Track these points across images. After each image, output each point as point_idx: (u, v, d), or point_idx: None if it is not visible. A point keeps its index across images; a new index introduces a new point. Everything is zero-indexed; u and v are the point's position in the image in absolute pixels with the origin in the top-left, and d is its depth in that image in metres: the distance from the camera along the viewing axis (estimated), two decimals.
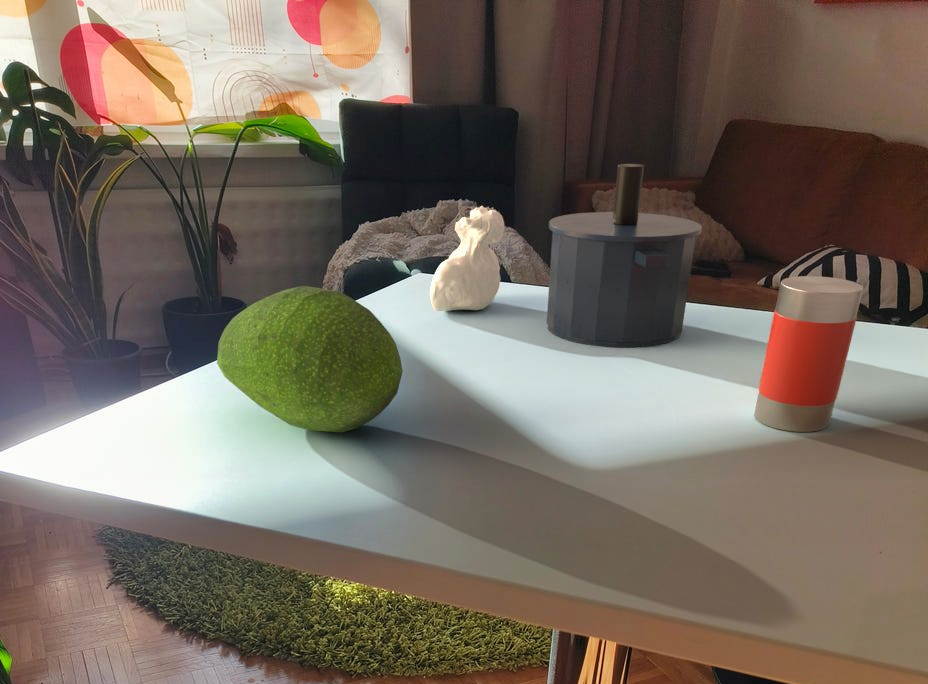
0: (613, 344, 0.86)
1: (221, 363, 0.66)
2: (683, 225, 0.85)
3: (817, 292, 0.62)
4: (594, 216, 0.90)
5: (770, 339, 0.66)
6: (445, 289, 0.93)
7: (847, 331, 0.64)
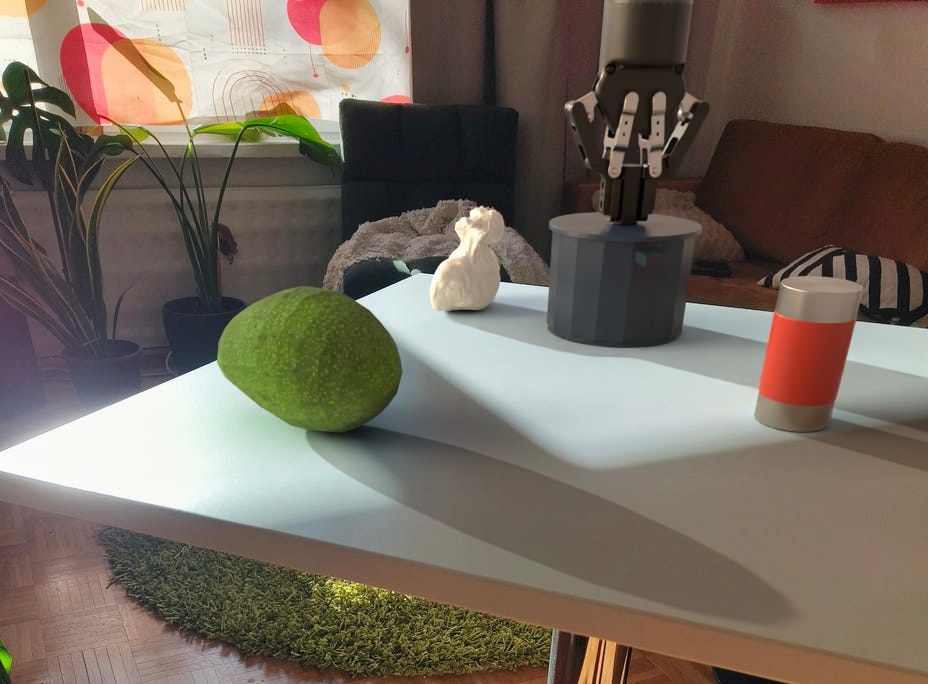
0: (613, 344, 0.86)
1: (221, 363, 0.66)
2: (683, 225, 0.85)
3: (817, 292, 0.62)
4: (594, 216, 0.90)
5: (770, 339, 0.66)
6: (445, 289, 0.93)
7: (847, 331, 0.64)
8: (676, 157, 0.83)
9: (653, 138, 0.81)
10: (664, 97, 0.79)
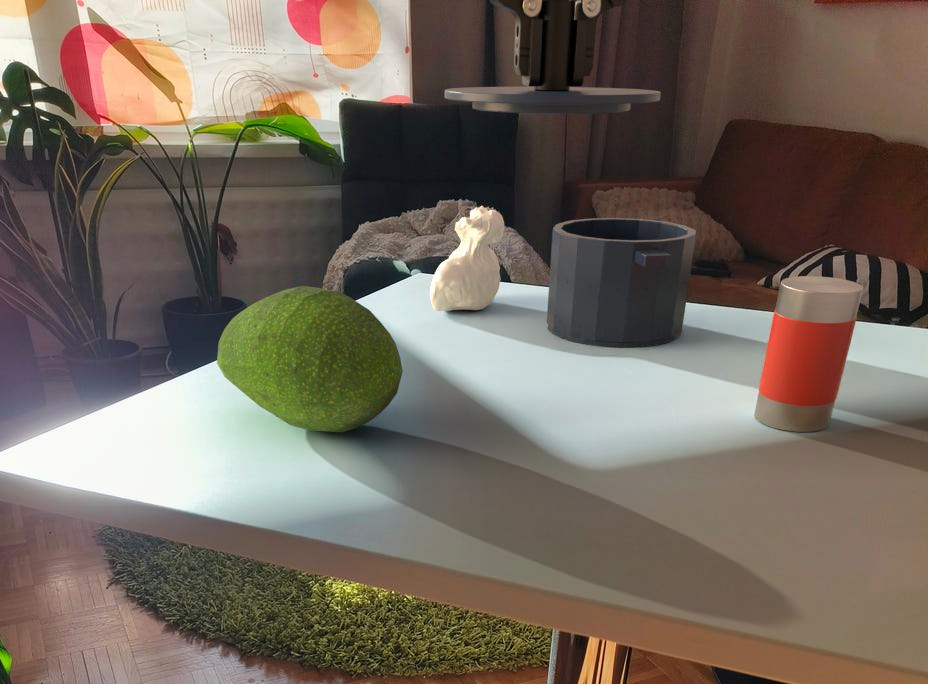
0: (613, 344, 0.86)
1: (221, 363, 0.66)
2: (634, 91, 0.60)
3: (817, 292, 0.62)
4: None
5: (770, 339, 0.66)
6: (445, 289, 0.93)
7: (847, 331, 0.64)
8: None
9: None
10: None
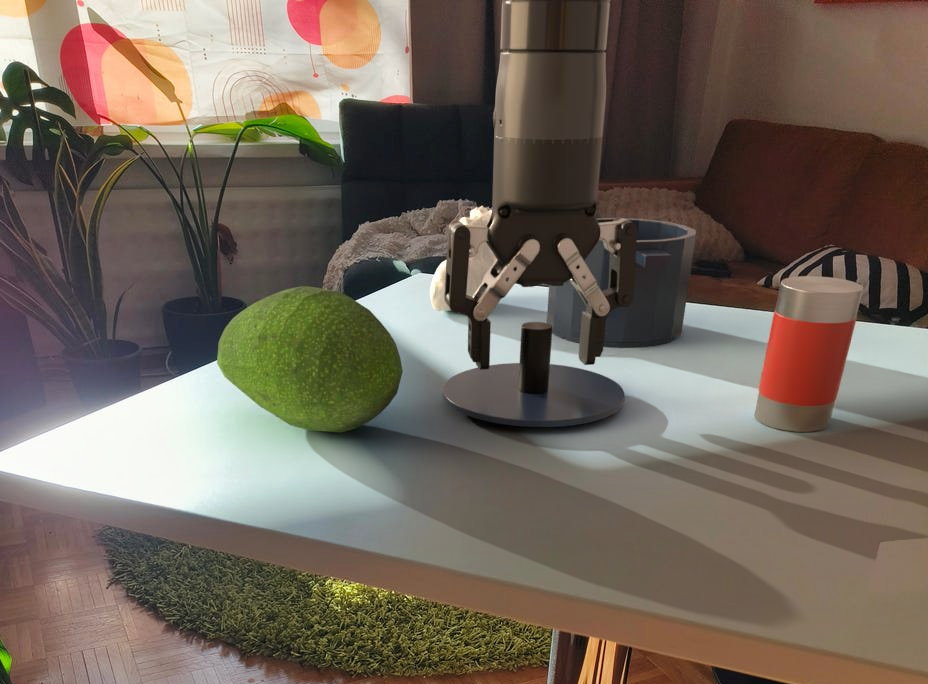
0: (613, 344, 0.86)
1: (221, 363, 0.66)
2: (602, 393, 0.71)
3: (817, 292, 0.62)
4: (501, 373, 0.75)
5: (770, 339, 0.66)
6: None
7: (847, 331, 0.64)
8: (625, 293, 0.68)
9: (581, 284, 0.66)
10: (570, 241, 0.64)
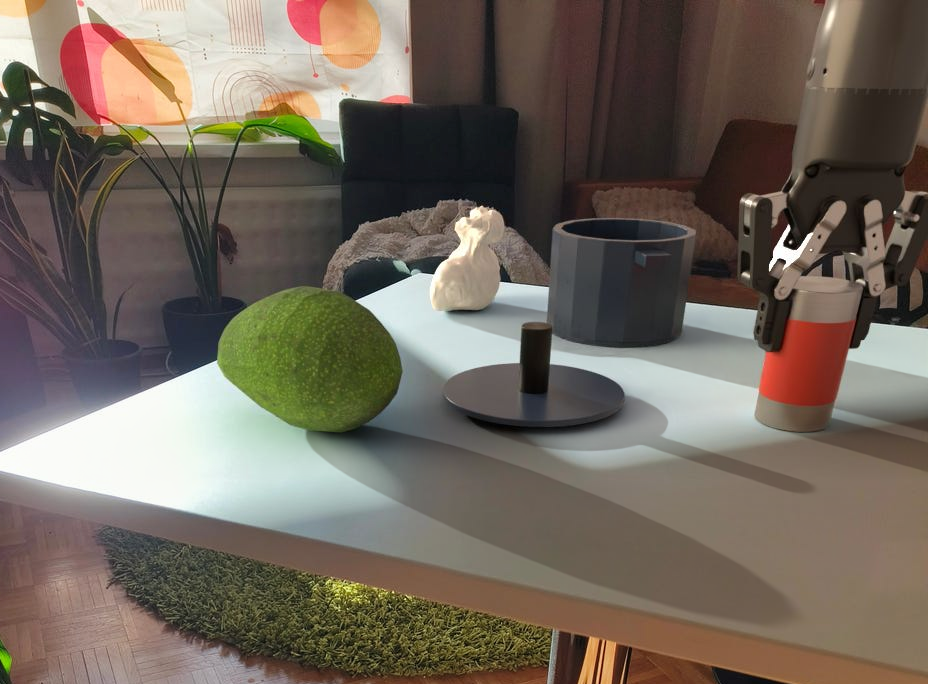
0: (613, 344, 0.86)
1: (221, 363, 0.66)
2: (602, 393, 0.71)
3: (817, 292, 0.62)
4: (501, 373, 0.75)
5: None
6: (445, 289, 0.93)
7: (847, 331, 0.64)
8: (904, 271, 0.63)
9: (870, 255, 0.62)
10: (879, 204, 0.59)
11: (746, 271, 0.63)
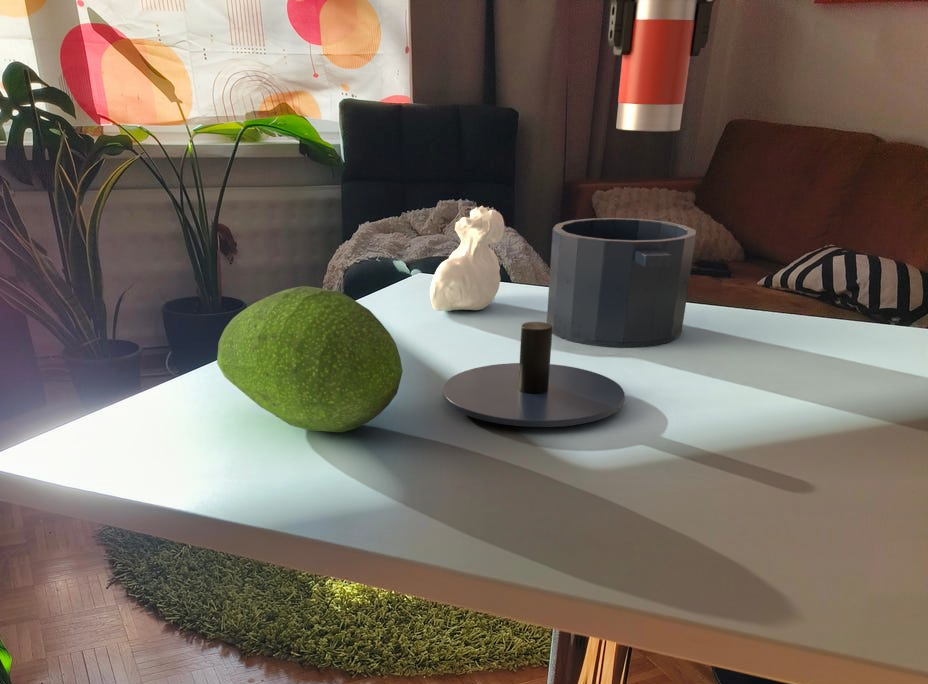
0: (613, 344, 0.86)
1: (221, 363, 0.66)
2: (602, 393, 0.71)
3: None
4: (501, 373, 0.75)
5: None
6: (445, 289, 0.93)
7: (685, 30, 0.74)
8: None
9: None
10: None
11: None
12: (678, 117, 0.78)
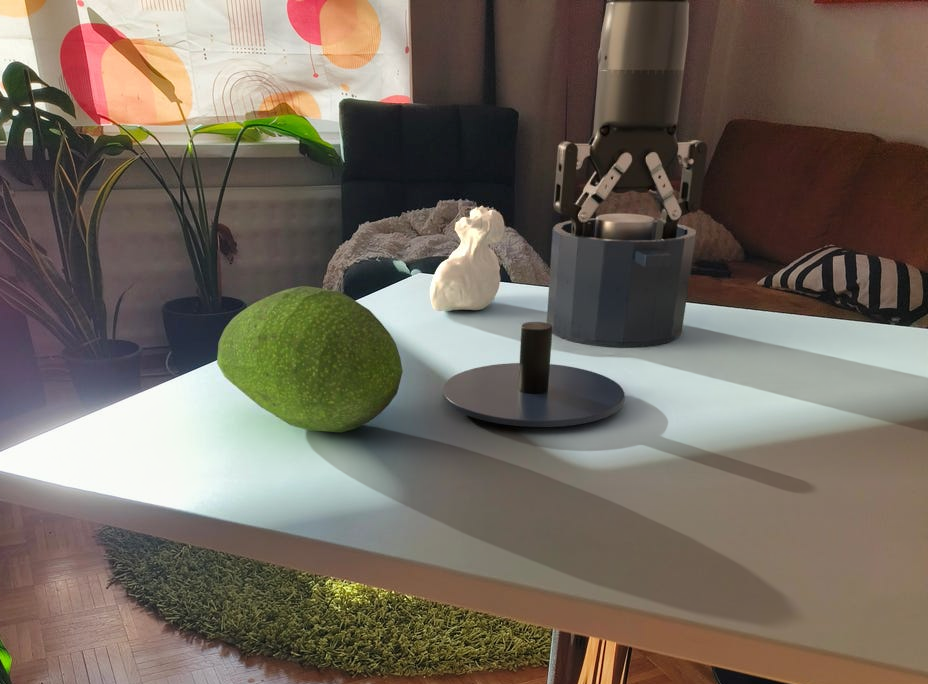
0: (613, 344, 0.86)
1: (221, 363, 0.66)
2: (602, 393, 0.71)
3: (617, 222, 0.84)
4: (501, 373, 0.75)
5: None
6: (445, 289, 0.93)
7: None
8: (694, 201, 0.85)
9: (661, 191, 0.83)
10: (656, 155, 0.81)
11: (559, 200, 0.84)
12: None
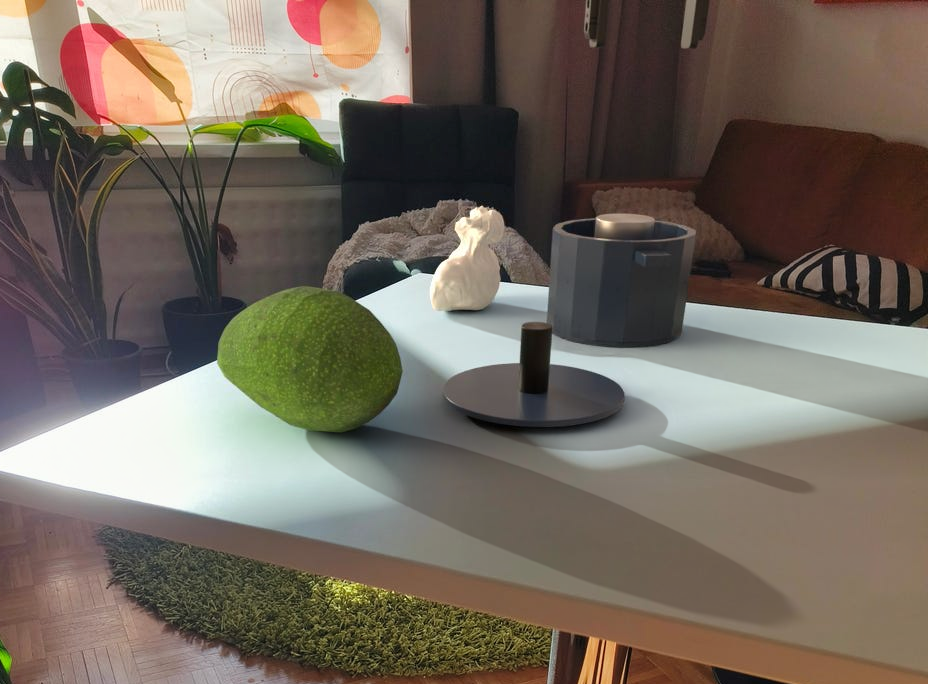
0: (613, 344, 0.86)
1: (221, 363, 0.66)
2: (602, 393, 0.71)
3: (617, 222, 0.84)
4: (501, 373, 0.75)
5: None
6: (445, 289, 0.93)
7: None
8: None
9: None
10: None
11: None
12: None
